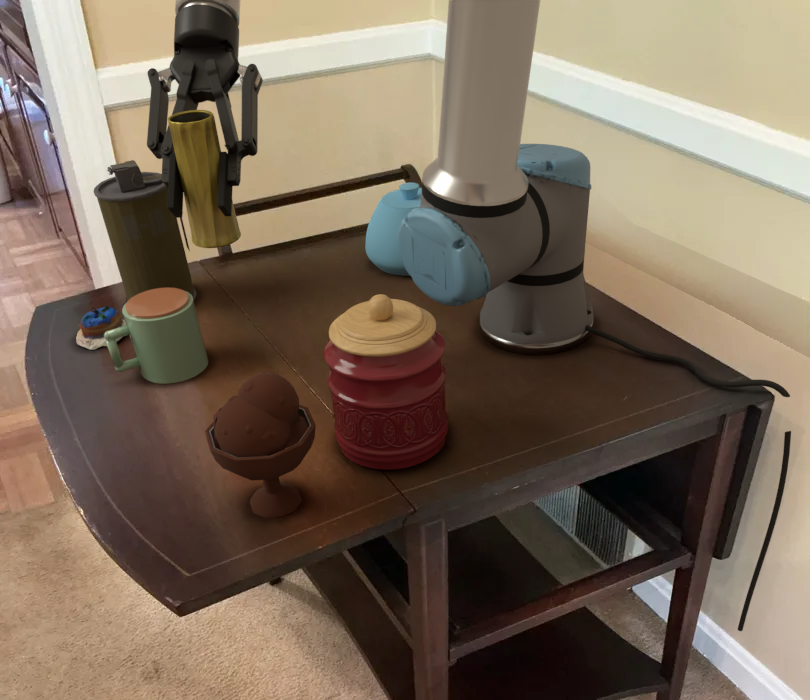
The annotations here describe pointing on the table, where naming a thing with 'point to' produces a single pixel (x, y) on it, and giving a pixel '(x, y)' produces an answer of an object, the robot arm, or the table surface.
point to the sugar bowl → (390, 227)
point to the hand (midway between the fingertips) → (199, 211)
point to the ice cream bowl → (263, 440)
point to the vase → (202, 178)
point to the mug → (161, 336)
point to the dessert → (98, 327)
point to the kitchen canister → (387, 383)
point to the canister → (143, 231)
